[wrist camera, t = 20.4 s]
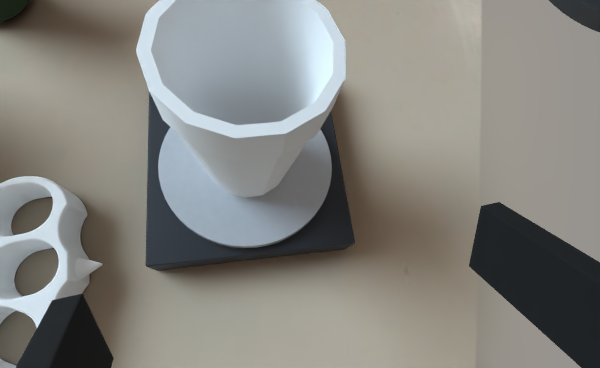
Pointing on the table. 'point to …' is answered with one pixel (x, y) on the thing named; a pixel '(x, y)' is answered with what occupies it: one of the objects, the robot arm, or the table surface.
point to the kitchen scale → (241, 206)
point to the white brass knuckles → (41, 247)
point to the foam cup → (243, 82)
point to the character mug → (11, 8)
